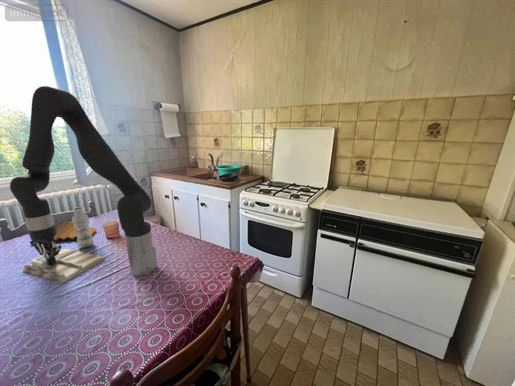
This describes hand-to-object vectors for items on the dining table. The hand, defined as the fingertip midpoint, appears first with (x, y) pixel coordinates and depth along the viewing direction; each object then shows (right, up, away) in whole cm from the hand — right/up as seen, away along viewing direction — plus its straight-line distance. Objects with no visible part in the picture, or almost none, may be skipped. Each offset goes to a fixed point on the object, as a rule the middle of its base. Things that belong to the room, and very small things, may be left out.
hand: (52, 264), depth 89 cm
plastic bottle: (-1, +2, +19) cm, 20 cm away
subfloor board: (+1, -2, +5) cm, 5 cm away
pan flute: (-20, +7, +35) cm, 41 cm away
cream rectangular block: (-5, -1, +2) cm, 5 cm away
